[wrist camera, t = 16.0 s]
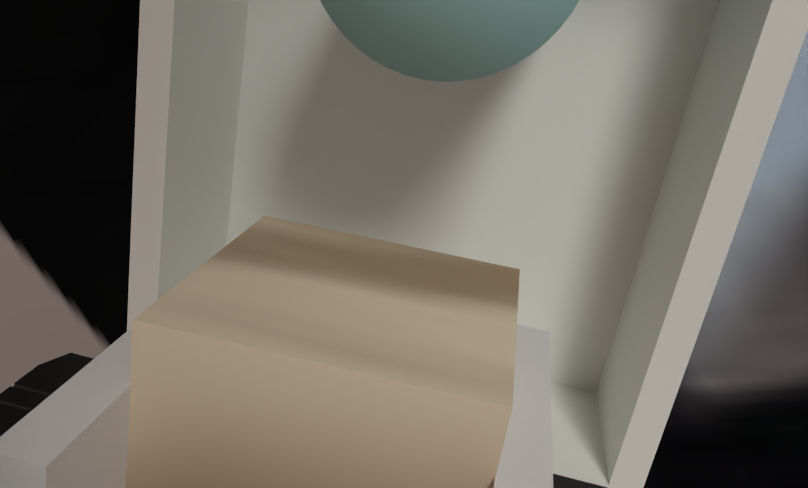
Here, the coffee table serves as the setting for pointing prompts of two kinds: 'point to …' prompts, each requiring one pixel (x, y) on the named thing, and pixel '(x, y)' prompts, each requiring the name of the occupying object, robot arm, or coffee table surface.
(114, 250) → the coffee table surface
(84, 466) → the robot arm
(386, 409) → the beech cube
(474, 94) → the tote
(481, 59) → the teal capsule
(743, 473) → the coffee table surface
